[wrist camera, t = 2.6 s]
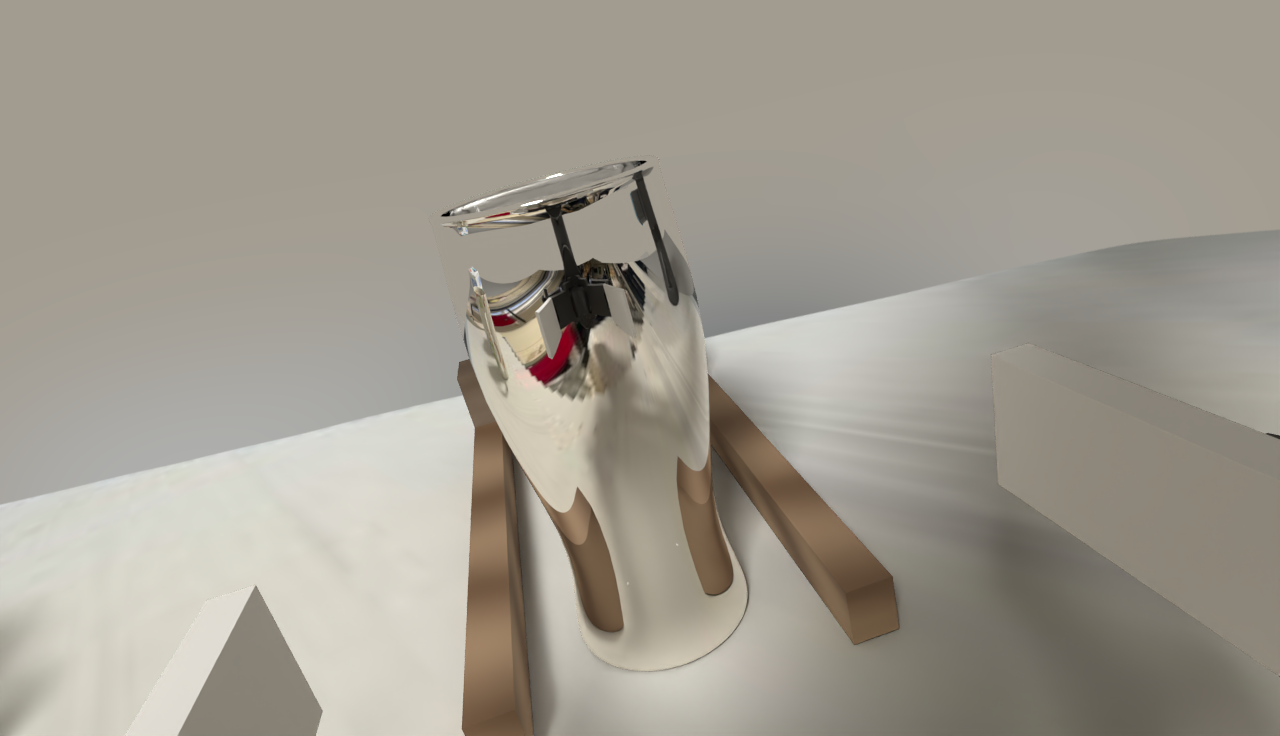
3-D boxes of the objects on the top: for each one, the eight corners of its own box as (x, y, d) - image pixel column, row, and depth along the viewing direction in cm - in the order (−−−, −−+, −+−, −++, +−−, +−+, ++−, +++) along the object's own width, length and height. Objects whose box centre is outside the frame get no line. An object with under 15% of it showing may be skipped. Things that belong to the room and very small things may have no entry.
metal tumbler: (535, 615, 26) (389, 220, 21) (679, 522, 29) (585, 161, 24) (641, 724, 20) (477, 222, 15) (804, 595, 24) (718, 144, 18)
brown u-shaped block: (899, 628, 21) (881, 491, 20) (484, 779, 20) (424, 645, 18) (688, 374, 44) (671, 299, 42) (486, 437, 42) (459, 362, 40)
